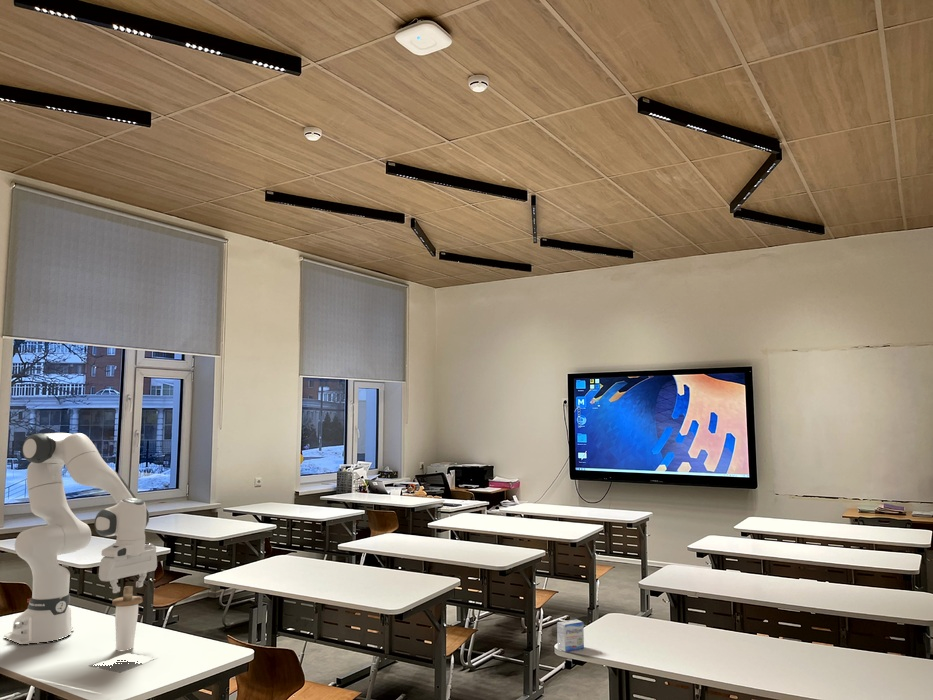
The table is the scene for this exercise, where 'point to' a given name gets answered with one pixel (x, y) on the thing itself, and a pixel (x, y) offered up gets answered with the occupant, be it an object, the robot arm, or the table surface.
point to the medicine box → (570, 635)
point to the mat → (118, 666)
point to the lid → (127, 598)
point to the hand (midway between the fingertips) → (128, 589)
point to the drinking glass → (125, 626)
